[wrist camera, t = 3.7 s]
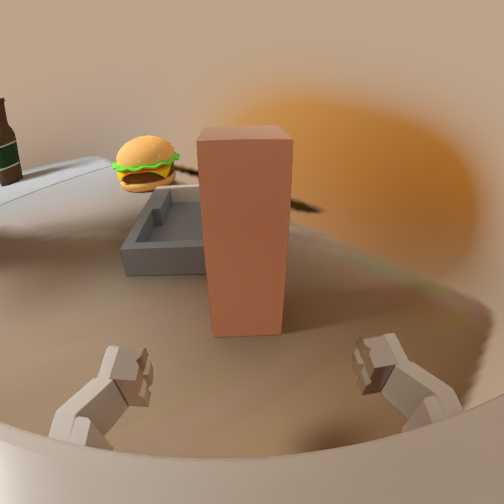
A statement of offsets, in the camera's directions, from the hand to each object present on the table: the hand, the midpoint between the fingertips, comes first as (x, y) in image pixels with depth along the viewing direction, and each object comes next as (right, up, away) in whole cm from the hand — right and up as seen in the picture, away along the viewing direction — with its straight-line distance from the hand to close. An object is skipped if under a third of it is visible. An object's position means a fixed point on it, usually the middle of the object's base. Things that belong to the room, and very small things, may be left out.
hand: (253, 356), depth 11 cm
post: (-1, -1, +13) cm, 14 cm away
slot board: (-8, +6, +25) cm, 27 cm away
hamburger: (-19, +16, +42) cm, 48 cm away
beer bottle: (-66, +23, +54) cm, 89 cm away
